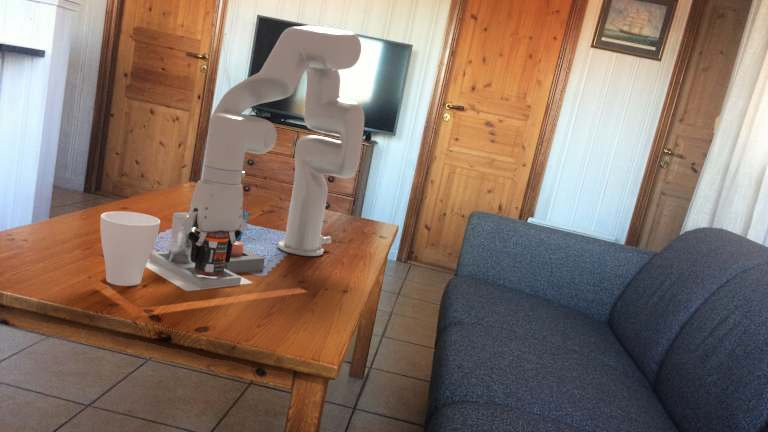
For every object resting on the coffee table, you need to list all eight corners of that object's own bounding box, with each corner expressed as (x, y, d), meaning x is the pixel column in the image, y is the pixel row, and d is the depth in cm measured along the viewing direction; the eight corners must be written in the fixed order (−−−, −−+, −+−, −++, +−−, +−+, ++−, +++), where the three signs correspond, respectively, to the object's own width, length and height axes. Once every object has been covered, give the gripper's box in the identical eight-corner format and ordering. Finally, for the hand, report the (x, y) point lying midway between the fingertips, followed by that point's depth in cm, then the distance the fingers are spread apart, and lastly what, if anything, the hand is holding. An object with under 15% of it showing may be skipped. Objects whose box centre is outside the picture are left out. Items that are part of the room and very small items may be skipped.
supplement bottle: (215, 279, 125) (222, 225, 123) (188, 273, 126) (195, 219, 124) (228, 273, 130) (235, 221, 128) (202, 266, 131) (209, 215, 129)
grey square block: (236, 261, 148) (238, 245, 147) (262, 274, 142) (264, 258, 141) (199, 265, 140) (202, 248, 140) (225, 278, 134) (228, 261, 134)
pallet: (200, 260, 144) (201, 249, 143) (252, 288, 131) (254, 276, 131) (134, 265, 132) (136, 253, 131) (185, 296, 119) (187, 283, 119)
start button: (235, 252, 143) (237, 240, 143) (245, 257, 141) (247, 245, 140) (220, 253, 140) (222, 241, 140) (231, 258, 138) (233, 245, 137)
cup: (115, 299, 112) (123, 226, 109) (81, 281, 117) (88, 212, 114) (163, 290, 120) (172, 223, 118) (129, 274, 126) (137, 210, 123)
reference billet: (186, 259, 139) (192, 212, 137) (201, 267, 135) (208, 218, 133) (161, 261, 134) (168, 212, 132) (176, 269, 130) (183, 219, 128)
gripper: (245, 174, 133) (234, 254, 137) (173, 170, 120) (162, 259, 123) (267, 181, 129) (254, 264, 132) (194, 178, 116) (182, 270, 119)
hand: (210, 260), depth 128 cm, fingers closed on supplement bottle, 6 cm apart
